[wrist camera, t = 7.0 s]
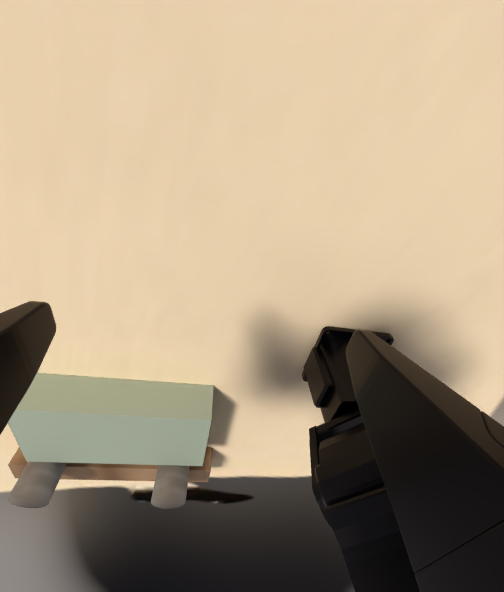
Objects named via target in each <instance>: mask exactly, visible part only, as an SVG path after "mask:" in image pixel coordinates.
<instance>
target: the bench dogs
mask: <svg viewBox="0 0 504 592" xmlns="http://www.w3.org/2000/svg"><path fill="white" fill-rule="evenodd" d="M211 455H212V448H206V451H205V456H204V461H203V466H178V465H139V464H100V463H60V462H27V461H26V459H25V457H24V455H23V453H22V451H21V449H20V447H19V448H18V450H17V452H16V453H15V455H14V456H13V458H12V460H11V461H10V463H9V464H8V466H9V467H10V469H11V471H12V473H13V475H14V477H15V478H19V479H18V481H17V483H16V484H15V486H14V488H13V490H12V491H11V493H10V495H9V497H8V501H9V502H11V503H12V504H14V505H16V506H20V507H25V508H40V507H44V506H46V505H48V504H49V501H50V499H51V497H52V495H53V493H54V490H55V488H56V486H57V484H58V482H59V480H60V479H78V480H127V481H155V484H154V489H153V494H152V499H151V503H152V505H154V506H156V507H159V508H165V509H172V508H178V507H180V506H182V505H184V504H185V502H186V493H187V484H188V482H208V479H209V475H210V471H211Z"/></svg>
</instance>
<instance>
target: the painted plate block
mask: <svg viewBox="0 0 504 592" xmlns="http://www.w3.org/2000/svg"><path fill="white" fill-rule="evenodd" d="M213 387H214V385H200V384H186V383H172V382H158V381H144V380H130V379H116V378H102V377H88V376H74V375H60V374H46V373H37V374H36V376H35V378H34V380H33V382H32V383H31V385H30V387H29V389H28V390H27V392H26V394H25V395H24V397H23V399H22V400H21V402H20V403H19V405H18V407H17V408H16V410H15V412H14V413H13V415H12V416H11V418H10V420H9V421H8V424H9V427H10V429H11V431H12V433H13V435H14V437H15V439H16V441H17V443H18V445H19V447H20V449H21V451H22V453H23V455H24V457H25V459H26V461H27V462H60V463H100V464H139V465H178V466H203V461H204V456H205V451H206V446H207V441H208V436H209V430H210V425H211V420H212V404H213Z"/></svg>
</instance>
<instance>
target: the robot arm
mask: <svg viewBox="0 0 504 592" xmlns="http://www.w3.org/2000/svg"><path fill="white" fill-rule="evenodd" d="M55 332H56V323H55V320H54V317H53V313H52V310H51V307H50V305H49V304H48V303H46V302H37V301H30V302H27V303H24V304H22V305H20V306H17V307H15V308H12V309H10V310H7V311H5V312H2V313H0V434H1V433H2V431H3V430H4V428H5V426H6V425H7V423H8V421H9V420H10V418H11V416H12V415H13V413H14V412H15V410H16V408H17V407H18V405H19V403H20V402H21V400H22V399H23V397H24V395H25V394H26V392H27V390H28V389H29V387H30V385H31V383H32V382H33V380H34V378H35V376H36V374H37V372H38V370H39V367H40V365H41V363H42V361H43V359H44V357H45V355H46V352H47V350H48V348H49V346H50V344H51V342H52V340H53V337H54V335H55ZM327 332H329V333H327ZM393 341H394V339H393V337H392V336H391V335H390V334H386V333H378V332H371V331H369V330H360V329H358V330H353V329H345V328H337V327H325V328H323V329H322V331H321V333H320V335H319V338H318V340H317V342H316V344H315V346H314V347H313V348H312V350H311V352H310V354H309V357H308V359H307V361H306V363H305V366H304V371H303V373H302V378H303V380H304V381H306V382H308V384H309V388H310V391H311V395H312V398H313V402H314V405H315V406H316V407H317V408H321V411H322V415H323V418H324V421H325V423H324V424H321V425H319V426H314V427H312V428H310V429H309V435H310V457H311V473H312V489H313V493H314V495H315V498H316V501H317V503H318V505H319V507H320V509H321V511H322V513H323V515H324V517H325V519H326V520H327V522H328V524H329V525H330V526H331V527H332V529H333V531H334V533H335V535H336V538H337V540H338V543H339V545H340V547H341V550H342V553H343V556H344V558H345V561H346V564H347V567H348V571H349V574H350V577H351V580H352V583H353V586H354V589H355V592H504V426H502V425H501V424H499V423H498V422H497V421H495V420H494V419H492V418H491V417H490V416H488V415H487V414H486V413H484V412H482V411H480V409H478V408H477V407H476V406H474V405H473V404H471V403H470V402H469V401H467V400H466V399H464V398H463V397H462V396H460V395H459V394H457V393H456V392H455V391H453V390H452V389H450V388H449V387H448V386H446V385H445V384H443V383H442V382H441V381H439V380H438V379H437V378H435V377H434V376H432V375H431V374H430V373H428V372H427V371H425V370H424V369H423V368H421V367H420V366H418V365H417V364H416V363H414V362H413V361H411V360H410V359H409V358H407V357H406V356H404V355H403V354H402V353H400V352H399V351H397V350H396V349H395V348H393V347H392V346H391V344H392V343H393Z"/></svg>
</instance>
